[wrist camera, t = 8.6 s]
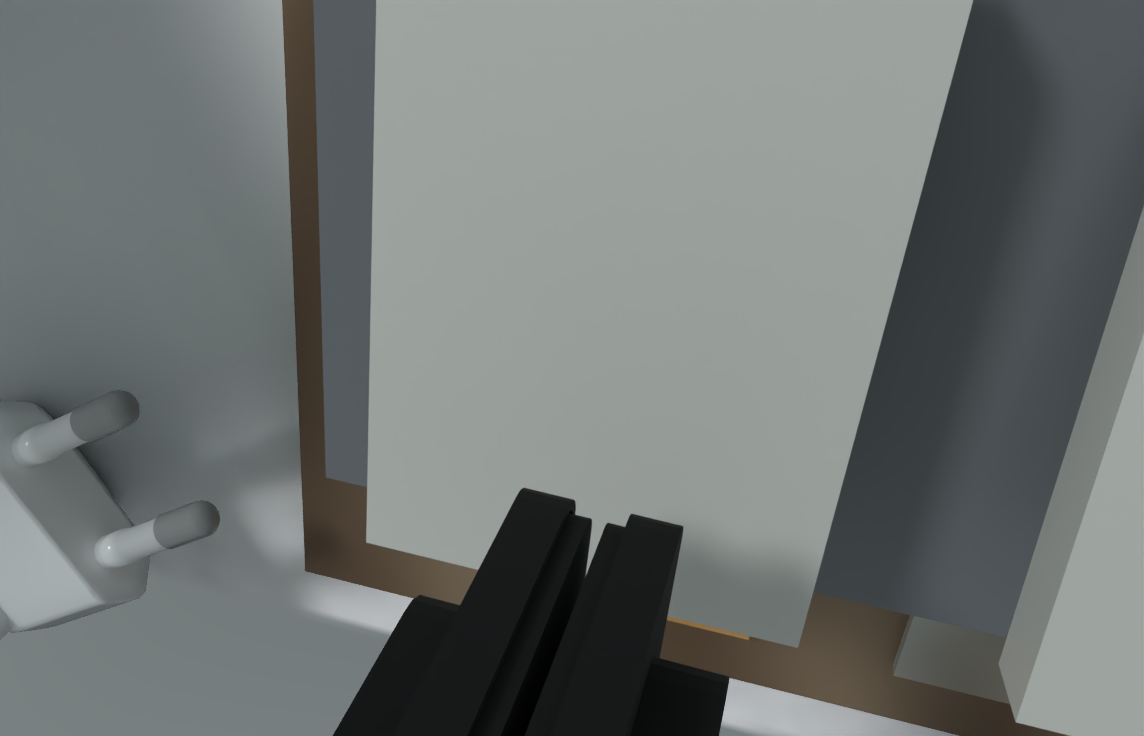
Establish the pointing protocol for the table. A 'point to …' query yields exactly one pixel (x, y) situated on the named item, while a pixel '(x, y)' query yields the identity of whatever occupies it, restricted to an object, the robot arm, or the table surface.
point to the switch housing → (919, 306)
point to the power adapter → (73, 518)
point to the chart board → (815, 669)
